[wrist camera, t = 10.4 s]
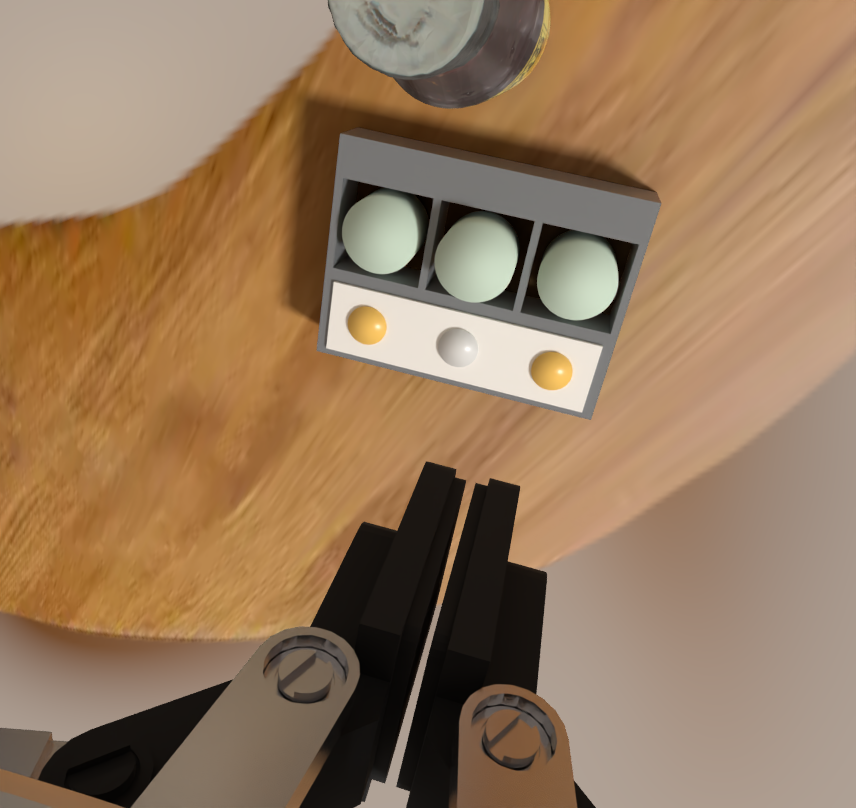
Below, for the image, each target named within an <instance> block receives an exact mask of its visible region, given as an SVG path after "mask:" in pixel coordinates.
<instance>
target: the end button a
mask: <svg viewBox="0 0 856 808" xmlns="http://www.w3.org/2000/svg"><path fill="white" fill-rule="evenodd" d="M428 228H429V221H428V216H427V212H426V210H425V208H424V206H423V204H422V203H421V201H420V200H419V199H418V198H417V197H416V196H415V195H414V194H412V193H408V192H403V191H399V190H394V189H390V188H385V187H384V188H380V189H378V190H376V191H374V192H373V193H371V194H370V195H368V196H367V197H365V198H363V199H362V200H360V201H359V202H357V203H356V204H355V205H354V206H352V208H351V209H350V210H349V211H348V213H347V214H346V217H345V219H344V222H343V227H342V238H343V243H344V246H345V249H346V251H347V253H348V254H349V256H350V257H351V259H352V260H353V261H354V262H355V263H356V264H357V265H358V266H360V267H361V268H363V269H364V270H367V271H369V272H372V273H376V274H389V273H393V272H396V271H398V270H400V269H401V268H403V267H404V266H405V265H406V264H407V263H408V262H409V261H410V260H411V259H412V258H413V256H414V255H415V254H416V253H417V252H418V251H419V250H420V248H421V247H422V246H423V244H424V243H425V241H426V238H427V234H428Z"/></svg>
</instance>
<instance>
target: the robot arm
mask: <svg viewBox="0 0 856 808" xmlns="http://www.w3.org/2000/svg"><path fill="white" fill-rule="evenodd" d="M455 475H456V469H454V468H450V467H446V466H442V465H438V464H435V463H431V462H426V463H425V465H424V467H423V470H422V472H421V475H420V477H419V480H418V482H417V484H416V487H415V489H414V492H413V494H412V497H411V499H410V501H409V504H408V506H407V509H406V511H405V514H404V516H403V518H402V521H401V523H400V526H399V528H398V531H396V530H392V529H389V528H385V527H381V526H378V525H374V524H370V523H367V522H363V523H362V524H361V526H360V527H359V529H358V531H357V533H356V535H355V537H354V539H353V541H352V543H351V545H350V547H349V549H348V551H347V553H346V555H345V557H344V560H343V562H342V564H341V566H340V568H339V570H338V572H337V574H336V576H335V578H334V580H333V582H332V584H331V586H330V588H329V590H328V592H327V594H326V596H325V598H324V600H323V602H322V604H321V606H320V608H319V610H318V612H317V614H316V616H315V618H314V620H313V622H312V624H311V626H310V627H296V628H291V629H286V630H283V631H281V632H279V633H277V634H275V635H273V636H271V637H270V638H269V639H267V640H266V641H265V642H264V643H263V644H262V645H261V646H260V647H259V648H258V649H257V650H256V652H255V653H254V654H253V655H252V657H251V658H250V659H249V660H248V662H247V663H246V664H245V665H244V667H243V668H242V669H241V670H240V672H239V673H238V674H237V675H236V677H235V678H234V679H233V680H230V681H227V682H224V683H222V684H219V685H216V686H213V687H210V688H208V689H205V690H202V691H199V692H196V693H193V694H190V695H188V696H185V697H182V698H179V699H176V700H173V701H171V702H168V703H165V704H162V705H159V706H156V707H154V708H151V709H148V710H145V711H142V712H139V713H137V714H134V715H131V716H128V717H125V718H123V719H120V720H117V721H114V722H111V723H108V724H105V725H103V726H100V727H97V728H94V729H91V730H89V731H87V732H85V733H83V734H81V735H79V736H77V737H75V738H73V739H71V740H70V741H68V742H66V741H53V739H52V732H46V731H33V730H21V729H8V728H0V808H354V807H356V806H358V805H360V804H361V801H363V802H365V799H366V796H367V793H368V790H369V787H370V783H371V780H372V779H373V780H376V781H379V782H382V783H385V781H386V778H387V775H388V772H389V768H390V764H391V761H392V758H393V754H394V751H395V747H396V744H397V740H398V736H399V733H400V730H401V726H402V723H403V719H404V716H405V712H406V708H407V705H408V702H409V698H410V695H411V692H412V688H413V685H414V681H415V678H416V674H417V671H418V667H419V664H420V660H421V656H422V653H423V650H424V646H425V643H426V639H427V636H428V632H429V629H430V625H431V622H432V618H433V615H434V611H435V608H436V604H437V600H438V596H439V592H440V588H441V583H442V579H443V575H444V571H445V567H446V563H447V559H448V554H449V550H450V546H451V542H452V538H453V534H454V530H455V525H456V521H457V517H458V513H459V509H460V505H461V501H462V496H463V492H464V488H465V484H466V480H463V479H459V478H455ZM519 492H520V486H518V485H514V484H510V483H506V482H503V481H499V480H495V479H491V478H490V480H489V484H488V486H485V485H481V484H478V483H476V484H475V488H474V491H473V495H472V499H471V502H470V506H469V509H468V513H467V517H466V520H465V524H464V528H463V531H462V535H461V538H460V542H459V546H458V549H457V553H456V556H455V560H454V564H453V567H452V571H451V574H450V578H449V582H448V585H447V589H446V593H445V596H444V600H443V603H442V607H441V611H440V614H439V618H438V621H437V626H436V629H435V632H434V636H433V640H432V644H431V648H430V651H429V655H428V659H427V663H426V667H425V672H424V676H423V680H422V684H421V688H420V692H419V696H418V700H417V704H416V709H415V712H414V717H413V720H412V725H411V729H410V733H409V737H408V741H407V746H406V749H405V753H404V757H403V761H402V765H401V769H400V774H399V778H398V782H397V787H399V788H401V789H404V790H408V791H410V795H409V798H408V802H407V807H406V808H596V807H595V806H594V805H593V804H592V802H591V801H590V800H589V799H588V798H587V796H586V795H585V794H584V792H583V791H582V790H581V789H580V787H579V786H578V785H577V784H576V782H575V781H574V779H573V770H572V764H571V756H570V747H569V739H568V736H567V733H566V729H565V726H564V723H563V722H562V720H561V719H560V717H559V716H558V714H557V712H556V711H555V710H554V709H553V708H552V707H551V706H550V705H549V704H548V703H547V702H546V701H545V700H544V699H543V698H541V697H539V696H538V695H536V690H537V680H538V670H539V659H540V648H541V637H542V627H543V616H544V605H545V595H546V584H547V573H546V572H544V571H540V570H537V569H533V568H529V567H526V566H522V565H519V564H515V563H511V562H508V555H509V550H510V544H511V538H512V532H513V527H514V521H515V515H516V509H517V503H518V498H519Z"/></svg>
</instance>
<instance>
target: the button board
mask: <svg viewBox="0 0 856 808" xmlns="http://www.w3.org/2000/svg"><path fill="white" fill-rule="evenodd" d="M358 181H359V182H363V183H368V184H372V185H377V186H381V187H385V188H390V189H394V190H399V191H403V192H408V193H412V194H417V195H421V196H425V197H430V198H434V199H433V205H432V211H431V217H430V222H429V228H428V234H427V240H426V245H425V251H424V257H423V262H422V268H421V271H420V270H416V269H412V268H408V267H403V268H401V269H400V270H398V271H396V272H393V273H389V274H376V273H372V272H369V271H367V270H364V269H363V268H361V267H360V266H358V265H357V264H356V263H355V262H354V261H353V260H352V259H351V257H350V256H349V254H348V253H347V251H346V249H345V246H344V243H343V238H342V227H343V222H344V219H345V217H346V214H347V213H348V211H349V210H350V209H351V208H352V206H354V205H355V204H356V198H357V189H358ZM450 202H452V203H457V204H461V205H465V206H470V207H474V208H479V209H483V210H488V211H492V212H497V213H501V214H505V215H510V216H514V217H519V218H523V219H528V220H532V221H535V223H534V227H533V231H532V235H531V239H530V243H529V247H528V251H527V255H526V259H525V263H524V268H523V272H522V276H521V280H520V284H519V288H518V292H517V293H513V292H509V291H505V290H504V291H503V292H502V293H500V294H499V295H498V296H496V297H495V298H493V299H491V300H488V301H484V302H477V303H474V302H466V301H463V300H460V299H458V298H456V297H454V296H453V295H451V294H450V293H449V292H448V291H447V290H446V289H445V288H444V287H443V286H442V284H441V283H440V281H439V279H438V277H437V274H436V271H435V254H436V250H437V247H438V245H439V243H440V241H441V240H442V239H443V235H444V230H445V224H446V219H447V214H448V208H449V203H450ZM660 206H661V201H660V199H659V197H658V194H657V192H653V191H649V190H644V189H639V188H635V187H630V186H626V185H621V184H616V183H612V182H607V181H603V180H598V179H593V178H589V177H584V176H579V175H575V174H570V173H566V172H561V171H556V170H552V169H547V168H543V167H538V166H533V165H529V164H524V163H520V162H515V161H510V160H506V159H501V158H496V157H492V156H487V155H483V154H478V153H473V152H469V151H464V150H460V149H455V148H450V147H446V146H441V145H437V144H432V143H427V142H423V141H418V140H413V139H409V138H404V137H400V136H395V135H390V134H386V133H381V132H377V131H372V130H367V129H363V128H355V129H352V130H349V131H346V132H343V133H340V139H339V149H338V158H337V167H336V176H335V186H334V195H333V204H332V213H331V223H330V232H329V241H328V250H327V260H326V269H325V278H324V287H323V297H322V306H321V315H320V324H319V334H318V343H317V351H320V352H324V353H328V354H332V355H336V356H339V357H343V358H347V359H351V360H355V361H359V362H363V363H367V364H371V365H375V366H379V367H383V368H387V369H391V370H395V371H399V372H403V373H407V374H411V375H415V376H419V377H423V378H427V379H431V380H435V381H438V382H442V383H446V384H450V385H454V386H458V387H462V388H466V389H470V390H474V391H478V392H482V393H486V394H490V395H494V396H498V397H502V398H506V399H510V400H514V401H518V402H522V403H526V404H530V405H534V406H537V407H541V408H545V409H549V410H553V411H557V412H561V413H565V414H569V415H573V416H577V417H581V418H585V419H589V420H591V418H592V415H593V412H594V409H595V406H596V402H597V399H598V396H599V393H600V390H601V387H602V384H603V381H604V378H605V375H606V372H607V369H608V366H609V363H610V359H611V356H612V353H613V350H614V347H615V344H616V341H617V338H618V335H619V332H620V329H621V326H622V323H623V320H624V317H625V313H626V310H627V307H628V304H629V301H630V298H631V295H632V292H633V289H634V286H635V283H636V280H637V277H638V274H639V270H640V267H641V264H642V261H643V258H644V255H645V252H646V249H647V246H648V243H649V240H650V237H651V234H652V231H653V227H654V224H655V221H656V218H657V215H658V212H659V209H660ZM543 223H545V224H550V225H554V226H559V227H563V228H568V229H572V230H577V231H581V232H585V233H590V234H594V235H599V236H603V237H608V238H612V239H616V240H621V241H625V242H630V243H632V246H631V249H630V252H629V255H628V258H627V262H626V265H625V268H624V271H623V274H622V277H621V281H620V284H619V287H618V290H617V293H616V296H615V300H614V303H613V306H612V309H611V312H610V315H606V314H602V313H600V314H598V315H596V316H594V317H592V318H589V319H584V320H569V319H565V318H562V317H559V316H557V315H555V314H554V313H552V312H551V311H550V310H549V309H548V308H547V307H546V306H545V305H544V303H543V302H542V300H541V299H539V298H534V297H530V296H526V295H525V294H526V290H527V286H528V282H529V278H530V274H531V270H532V266H533V263H534V259H535V255H536V251H537V247H538V243H539V239H540V235H541V231H542V227H543Z"/></svg>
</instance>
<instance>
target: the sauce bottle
mask: <svg viewBox="0 0 856 808" xmlns="http://www.w3.org/2000/svg"><path fill="white" fill-rule="evenodd" d="M328 7H329V9H330V12H331V14H332V18H333V22H334V25H335V28H336V29H337V30H338V32H339V33H340V35H341V37H342V39H343V41H344V43H345V44H346V46H347V47H348V48H349V50H350V51H351V52H352V54H353V55H354V56H356V57H357V58H358V59H359V60H361V61H362V62H363V63H365V64H366V65H367V66H369V67H370V68H372V69H374V70H376V71H379V72H381V73H383V74H385V75H387V76H389V77H393V78H394V79H395V81H396V82H397V83H398V84H399V85H400V86H401V87H402V88H403V89H404V90H405V91H406V92H407V93H408V94H410V95H411V96H412V97H414V98H415V99H417V100H419V101H421V102H423V103H425V104H428V105H431V106H434V107H440V108H449V109H451V108H464V107H470V106H474V105H477V104H480V103H482V102H485V101H487V100H489V99H491V98H494V97H496V96H498V95H500V94H502V93H504V92H506V91H508V90H510V89H511V88H513V87H515V86H517V85H518V84H519V83H520V82H522V81H523V80H524V79H525V78H526V77H527V76H528V75H529V74H530V73H531V72H532V71H533V69H534V68H535V66H536V65H537V63H538V62H539V60H540V58H541V56H542V54H543V52H544V49H545V46H546V44H547V40H548V37H549V31H550V7H549V1H548V0H328Z"/></svg>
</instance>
